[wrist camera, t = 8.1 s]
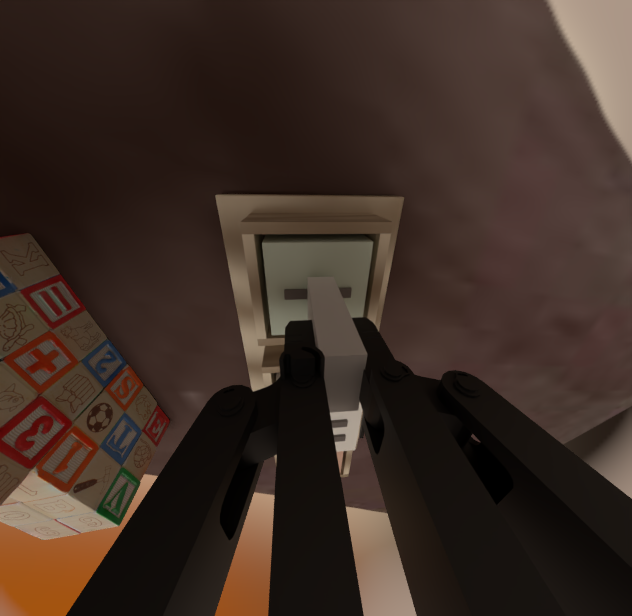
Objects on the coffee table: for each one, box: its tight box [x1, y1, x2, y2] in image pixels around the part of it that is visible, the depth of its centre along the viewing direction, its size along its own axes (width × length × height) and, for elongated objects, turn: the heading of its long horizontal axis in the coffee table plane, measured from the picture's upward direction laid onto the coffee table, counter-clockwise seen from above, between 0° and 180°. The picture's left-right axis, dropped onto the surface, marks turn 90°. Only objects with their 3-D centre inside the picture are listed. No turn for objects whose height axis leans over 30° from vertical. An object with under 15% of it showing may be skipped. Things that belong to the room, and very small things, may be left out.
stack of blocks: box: [0, 233, 170, 540], centre depth 15 cm, size 21×6×12 cm, turn 7°
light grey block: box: [262, 234, 373, 335], centre depth 15 cm, size 6×6×4 cm
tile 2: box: [276, 372, 362, 452], centre depth 18 cm, size 6×6×4 cm
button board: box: [215, 194, 404, 477], centre depth 21 cm, size 30×12×5 cm, turn 179°
